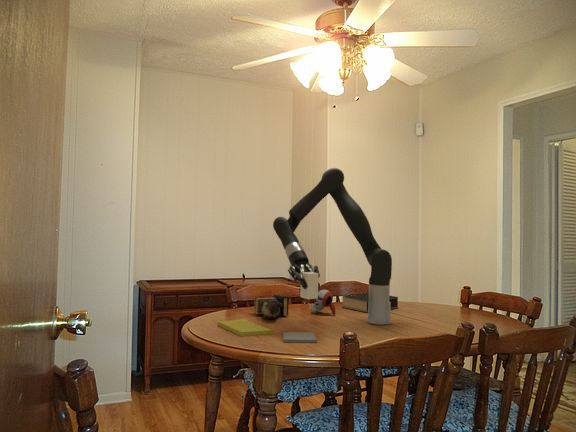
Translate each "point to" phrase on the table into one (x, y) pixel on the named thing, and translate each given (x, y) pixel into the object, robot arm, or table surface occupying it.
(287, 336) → the slate pad
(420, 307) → the table surface
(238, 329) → the flat olive board
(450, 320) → the table surface
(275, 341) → the table surface
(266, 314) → the bookend
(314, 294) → the cream block
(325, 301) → the toy
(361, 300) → the book
